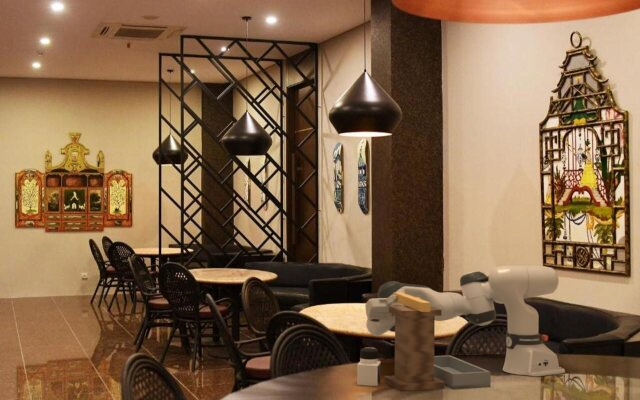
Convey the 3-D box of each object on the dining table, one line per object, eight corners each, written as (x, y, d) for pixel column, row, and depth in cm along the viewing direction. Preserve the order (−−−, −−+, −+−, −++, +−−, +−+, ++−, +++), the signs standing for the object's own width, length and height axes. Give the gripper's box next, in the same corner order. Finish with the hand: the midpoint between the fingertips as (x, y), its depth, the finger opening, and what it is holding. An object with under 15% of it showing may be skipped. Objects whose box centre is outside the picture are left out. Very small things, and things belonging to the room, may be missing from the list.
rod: (401, 300, 288) (401, 292, 288) (430, 311, 265) (430, 302, 265) (393, 300, 287) (393, 292, 287) (422, 311, 264) (422, 302, 264)
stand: (426, 379, 283) (427, 304, 283) (444, 388, 269) (445, 310, 269) (384, 381, 278) (384, 306, 278) (400, 391, 264) (401, 311, 264)
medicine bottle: (377, 386, 271) (378, 350, 271) (356, 385, 272) (357, 349, 272) (380, 381, 278) (381, 346, 278) (360, 380, 279) (360, 345, 279)
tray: (449, 368, 301) (450, 355, 301) (490, 386, 272) (490, 371, 272) (415, 370, 296) (415, 357, 296) (452, 389, 268) (453, 374, 268)
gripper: (416, 319, 297) (430, 304, 286) (364, 320, 291) (376, 306, 280) (412, 303, 300) (426, 288, 289) (361, 304, 294) (373, 289, 283)
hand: (401, 296), depth 284 cm, fingers closed on rod, 3 cm apart
